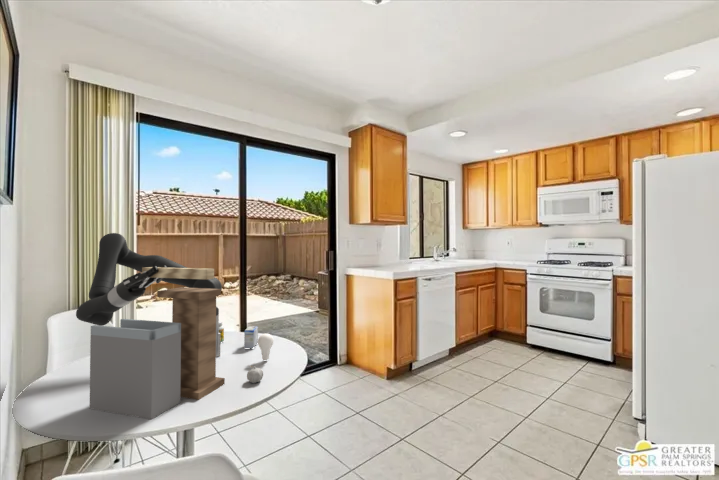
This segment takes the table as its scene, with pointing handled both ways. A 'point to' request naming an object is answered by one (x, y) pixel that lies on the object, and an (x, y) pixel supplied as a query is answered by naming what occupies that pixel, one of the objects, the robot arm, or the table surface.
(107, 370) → the tray stand
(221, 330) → the supplement bottle
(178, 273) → the tan wooden bar
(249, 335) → the medicine box
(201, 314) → the post
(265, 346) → the lightbulb
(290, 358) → the table surface
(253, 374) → the garlic
